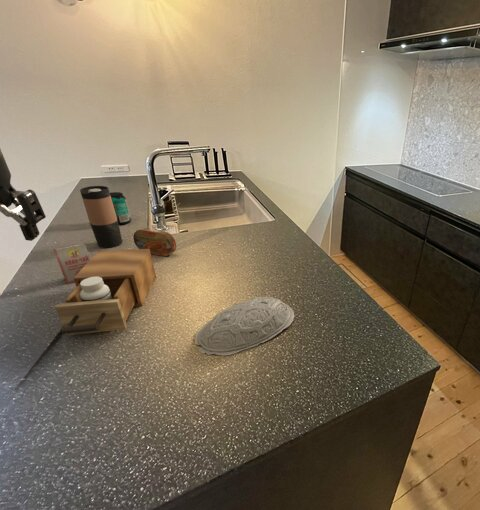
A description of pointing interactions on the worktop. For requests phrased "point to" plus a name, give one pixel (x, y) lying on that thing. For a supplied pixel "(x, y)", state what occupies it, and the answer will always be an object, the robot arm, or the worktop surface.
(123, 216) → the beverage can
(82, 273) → the cabinet
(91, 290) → the pill bottle
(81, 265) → the white cardboard box
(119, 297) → the drawer
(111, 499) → the worktop surface
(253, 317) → the turtle shell
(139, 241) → the tin
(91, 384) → the worktop surface
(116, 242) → the travel mug
